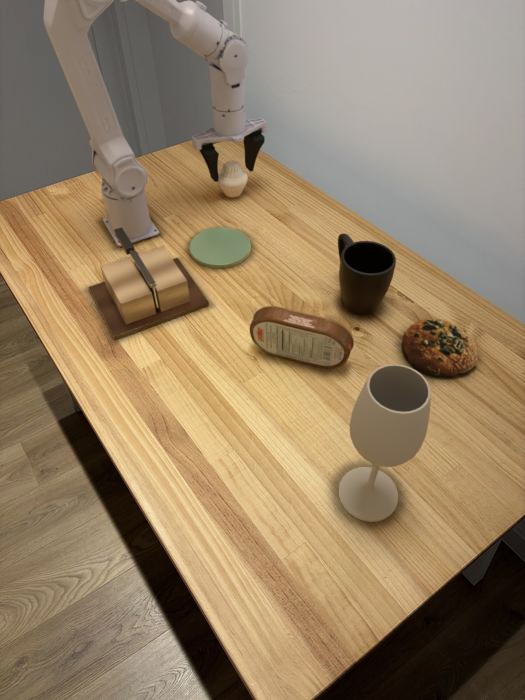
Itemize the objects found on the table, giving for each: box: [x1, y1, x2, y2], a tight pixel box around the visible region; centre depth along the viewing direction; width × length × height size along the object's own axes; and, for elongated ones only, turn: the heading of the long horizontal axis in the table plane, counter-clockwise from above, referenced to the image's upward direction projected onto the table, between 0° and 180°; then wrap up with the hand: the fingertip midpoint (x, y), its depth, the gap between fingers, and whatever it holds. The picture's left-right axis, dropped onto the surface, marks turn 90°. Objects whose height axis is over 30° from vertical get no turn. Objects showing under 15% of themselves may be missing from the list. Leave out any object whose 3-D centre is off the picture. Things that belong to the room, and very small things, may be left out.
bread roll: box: [401, 318, 479, 377], centre depth 82 cm, size 11×11×5 cm
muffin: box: [216, 159, 249, 198], centre depth 109 cm, size 6×6×7 cm
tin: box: [249, 305, 355, 369], centre depth 79 cm, size 15×3×8 cm, turn 71°
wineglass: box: [338, 363, 432, 523], centre depth 60 cm, size 8×8×21 cm
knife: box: [114, 227, 159, 309], centre depth 90 cm, size 16×1×5 cm, turn 29°
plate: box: [188, 226, 252, 269], centre depth 99 cm, size 11×11×1 cm
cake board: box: [87, 245, 210, 341], centre depth 89 cm, size 13×16×5 cm
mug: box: [337, 232, 397, 316], centre depth 87 cm, size 8×12×10 cm
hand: (232, 174), depth 108 cm, fingers open, 7 cm apart
